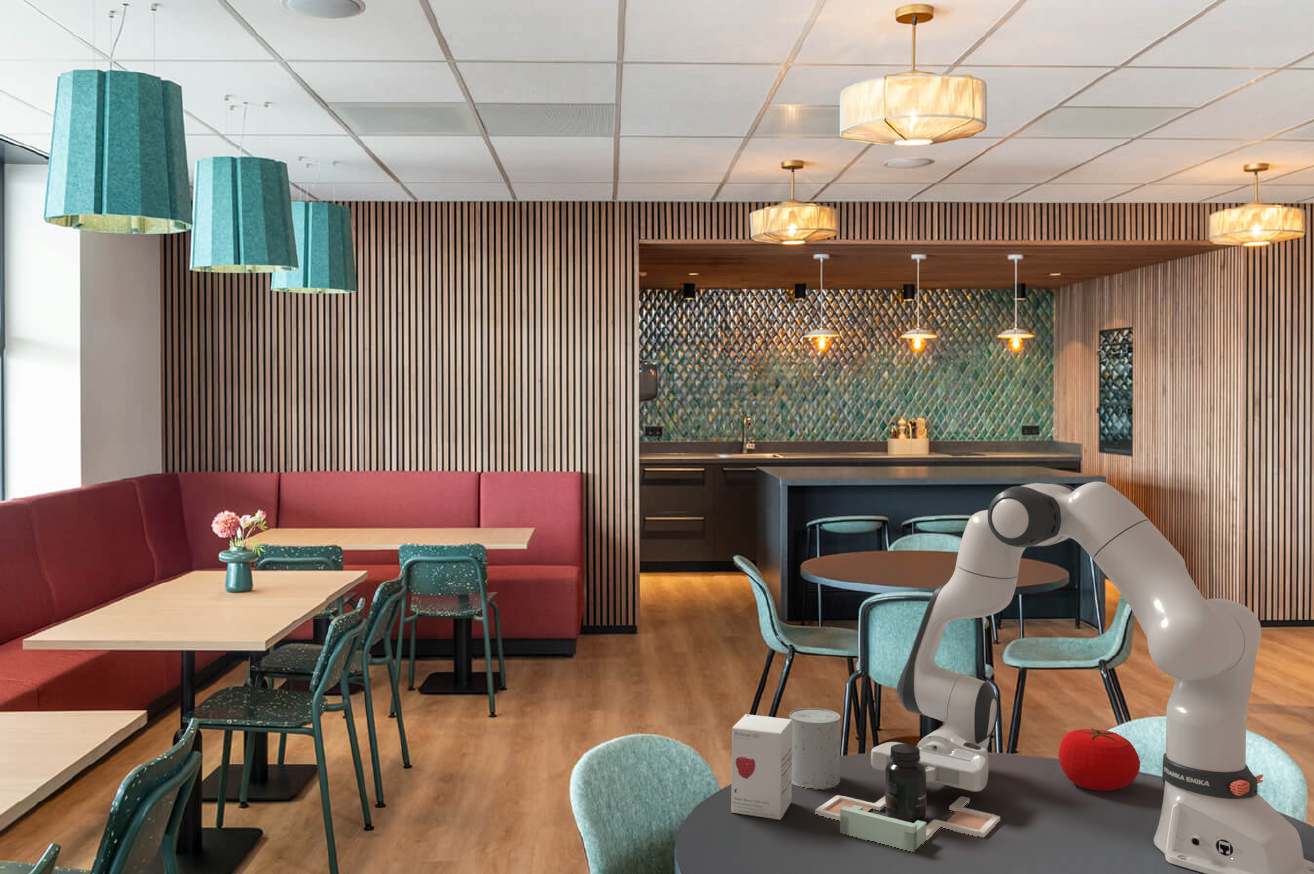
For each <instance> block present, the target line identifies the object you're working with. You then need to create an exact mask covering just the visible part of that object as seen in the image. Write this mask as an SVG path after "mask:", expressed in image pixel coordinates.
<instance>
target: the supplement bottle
mask: <svg viewBox="0 0 1314 874" xmlns="http://www.w3.org/2000/svg"><path fill="white" fill-rule="evenodd" d="M890 759H891V761H890V762H888V763H887V765H886V767H885V771H884V792H885V793H884V796H885V807H886V808H885V816H886V817H890V818H894V819H898V820H902V821H906V822H910V823H915V822H916V821H917V820H919V821H923V822H926V819H927V808H928V804H927V782H926V769H925V767H924V766H923V765H922V764H921V763H920V762H919V761H920V749H919V748H918V747H917V745H914V744H909V743H903V744H896V745H893V746H892V747H891V754H890Z"/></svg>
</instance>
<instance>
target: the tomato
mask: <svg viewBox="0 0 1314 874" xmlns="http://www.w3.org/2000/svg"><path fill="white" fill-rule="evenodd" d="M1058 760H1059V761H1058V762H1059V766H1060V768H1061V769H1062V771H1063V774H1064V775H1065V776H1066V778H1067V779H1068V780H1069V781H1071V783H1073V784H1075V785H1077V786H1078V787H1081V788H1083V789H1085V790H1092V791H1098V792H1100V791H1101V792H1105V791H1106V792H1108V791H1109V792H1110V791H1117V790H1118V789H1123V788H1125V787H1126V786H1128V785H1129V784H1131V783H1132V782H1133V781H1134V780H1135V779H1136V778H1137V777H1138V774H1139V772H1140V769H1141V768H1140V767H1141V760H1140V757H1139V754H1138V752H1137V750H1136V748H1135V746H1134V744H1132V743H1131V742H1130V740H1129V739H1127V738H1125V737H1124V736H1123V735H1121V734H1118V733H1117V732H1114V731H1111V730H1106V729H1095V728H1093V727H1090V728H1080V729H1073V730H1071V731H1069V732H1067V733H1066V734H1065V735H1064V736H1063V738H1062V740H1061V742H1060V745H1059V749H1058Z"/></svg>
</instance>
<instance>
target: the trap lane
mask: <svg viewBox="0 0 1314 874" xmlns="http://www.w3.org/2000/svg"><path fill="white" fill-rule="evenodd" d="M970 799H971V798H970V797H966V796H962V795H961V796H960V797H958V798H957V799H956V800H954V802H952V803H951V804H950V805H949V806H948V807H949V808H948V809H949V810H953V811H957V812H954V814H953V815H952V816H951V817H950V818H948V819H947V820H946V821H944V820H940V819H936V818H935V819H933V820H931V821H930V822H929V823H928V824H927V821H924V822H923V821H919V820H917V821H916V822H915V823H910V822H906V821H902V820H898V819H894V818H890V817H887V816H886V815H881V814H877V813H874V812H871V811H870V812H868V811H869V810H870V809H872V808H873V809H876V810H879V811H880V810H881V809H883V808H884V807H885V795H884V796H883V797H881V798H880V799H878V800H877V801H875V802H869V801H866V800H863V799H858V798H857V799H856V798H854V797H849V796H845V795H839V794H837V795H835V796H833V797H832V798H831V799H829V800H827V801H826V802H824V803H823V804H822V805H820V806H818V807H817V808H815V810H814V814H815V815H816V814H818V815H817V816H819V817H821V816H824V817H823V818H825V817H826V819H829V818H831V819H830V820H833V819H835V820H834V821H837V820H839V821H838V822H840V823H839V833H840V834H841V833H842V835H845V834H846V835H845V836H848V835H849V837H852V836H853V838H856V837H857V838H856V839H861V840H864V841H867V840H870V841H869V842H871V841H875V842H877V843H876V844H879V843H881V844H880V845H882V844H885V845H884V846H886V845H889V846H888V847H890V846H892V847H891V848H894V847H896V848H895V849H897V848H899V849H898V850H901V849H903V850H902V851H905V850H907V851H906V852H909V851H911V852H910V853H912V852H913V853H915V850H916V849H917V848H918V847H919V846H920V845H921V844H922V845H924V844H925V843H926V842H927V841H928V840H929V839H930V838H932V836H934V835H935V834H936V833H937V832H938V831H939V830H940V829H941V828H940V827H943V828H946V829H945V830H947V829H950V830H949V831H951V830H953V831H952V832H955V833H960V834H964V833H965V834H964V835H968V834H969V835H968V836H972V835H973V836H972V837H978V836H979V837H978V838H982V837H983V839H984V838H985V837H986V836H987V835H988V834H989V833H990V832H991V831H992V830H993V829H994V828H995V827H996V826H997V825H998V824H999V823H1000V822H1001V816H1000V815H997V814H994V813H989V812H985V811H980V810H976V809H973V808H967V807H966V806H967V805H968V804H970V803H969V802H970ZM967 803H968V804H967ZM966 804H967V805H966ZM965 805H966V806H965ZM964 806H965V807H964ZM884 809H885V808H884ZM884 809H883V810H884ZM949 810H948V811H949ZM879 811H878V812H879ZM880 812H881V811H880ZM999 821H1000V822H999ZM998 822H999V823H998ZM997 823H998V824H997ZM996 824H997V825H996ZM939 828H940V829H939ZM943 828H942V829H943ZM938 829H939V830H938ZM937 830H938V831H937ZM936 831H937V832H936ZM935 832H936V833H935ZM934 833H935V834H934ZM933 834H934V835H933ZM926 840H927V841H926ZM925 841H926V842H925ZM875 842H874V843H875ZM924 842H925V843H924ZM922 845H921V846H922ZM921 846H920V847H921ZM920 847H919V848H920ZM919 848H918V849H919ZM918 849H917V850H918ZM917 850H916V851H917Z"/></svg>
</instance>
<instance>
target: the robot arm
mask: <svg viewBox="0 0 1314 874" xmlns="http://www.w3.org/2000/svg"><path fill="white" fill-rule="evenodd" d="M1069 540H1074V541H1076V542H1077V543H1078V544H1079V545H1080V546H1081V547H1082V548H1083V549H1084V550H1085V552H1086V554H1088V555H1089V557H1090V558H1091V559H1092V561H1094V563H1095V564H1096V565H1097V566H1098V568H1099V569H1100V570H1101V571H1102V572H1103V574H1104V575H1105V576H1106V578H1107V579H1108V580H1109V581H1110V582H1111V584H1113V586H1114V587H1115V588H1116V590H1118V592H1119V593H1120V594H1121V596H1122V597H1123V599H1124V600H1125V601H1126V603H1127V605H1128V606H1129V608H1130V610H1131V611H1132V613H1133V615H1134V617H1135V619H1136V620H1137V622H1138V624H1139V626H1140V627H1141V631H1142V632H1143V633H1144V636H1145V637H1146V640H1147V648H1148V653H1149V655H1150V658H1151V660H1152V662H1153V663H1154V664H1155V665H1156V667H1157V668H1158V669H1159V670H1160V671H1161V672H1163V673H1165V674H1166V675H1167V676H1169V677H1172V678H1174V683H1173V687H1172V690H1171V694H1170V696H1169V699H1168V701H1167V704H1166V716H1165V717H1166V719H1165V720H1166V721H1165V722H1166V723H1165V725H1166V726H1165V753H1163V757H1162V784H1163V788H1164V790H1163V797H1162V806H1161V811H1160V817H1159V821H1158V825H1157V828H1156V831H1155V834H1154V836H1153V843H1154V845H1155V846H1156V847H1157V848H1158V849H1159V850H1160V851H1161V852H1162V853H1163V854H1164V858H1165V861H1166V862H1168V863H1169V864H1172V865H1175V866H1177V867H1178V866H1179V867H1182V868H1186V869H1188V870H1193V871H1197V872H1199V873H1201V874H1202V873H1203V874H1314V862H1312V861H1310V860H1308V859H1306V858H1305V857H1304V851H1303V844H1302V840H1301V838H1300V834H1299V831H1298V830H1297V828H1296V827H1295V826H1294V825H1293V824H1291V823H1290V822H1289V821H1288V820H1287V819H1286V818H1285V817H1284V816H1283V815H1281V813H1279V811H1277V810H1276V809H1275V808H1274V807H1273V806H1272V805H1271V804H1270V803H1269V802H1267V800H1266V799H1264V798H1263V797H1262V795H1260V793H1258V791H1259V790H1258V789H1259V787H1258V784H1261V783H1263V782H1264V780H1263V777H1264V775H1263V774H1261V773H1260V774H1258V775H1256V776H1255V774H1254V773H1252V771H1251V770H1250V767H1249V766H1248V764H1246V761H1247V759H1246V757H1247V753H1246V752H1247V748H1246V747H1247V718H1248V717H1247V715H1248V709H1249V702H1250V697H1251V693H1252V687H1253V682H1254V675H1255V668H1256V659H1257V654H1258V649H1259V647H1260V644H1261V641H1262V627H1261V622H1260V620H1259V619H1258V617H1257V616H1256V614H1255V613H1254V612H1253V611H1252V610H1251V609H1250V608H1249V607H1248V606H1247V605H1244V604H1242V603H1240V602H1237V601H1234V600H1231V599H1226V598H1217V597H1216V598H1208V599H1205V597H1204V596H1203V595H1202V594H1201V592H1200V591H1199V589H1198V588H1197V586H1196V584H1195V582H1194V581H1193V579H1192V577H1191V576H1190V573H1189V572H1188V569H1187V567H1186V561H1185V559H1184V558H1183V556H1182V555H1181V553H1179V551H1178V550H1177V549H1176V548H1175V546H1174V545H1173V544H1171V542H1170V541H1169V540H1168V539H1167V537H1165V536H1164V534H1163V533H1161V531H1160V530H1159V529H1158V528H1157V527H1156V526H1155V524H1154V523H1152V521H1150V519H1149V518H1148V517H1147V515H1145V513H1143V512H1142V511H1141V510H1140V509H1139V508H1138V507H1137V506H1136V505H1135V504H1134V503H1133V502H1132V501H1130V499H1128V498H1127V497H1126V496H1125V495H1123V494H1122V493H1121V492H1120V491H1119V490H1118V489H1116V488H1115V487H1113V486H1112V485H1110V484H1109V483H1107V482H1103V481H1091V482H1088V483H1085V484H1083V485H1080V486H1078V487H1077V488H1075V487H1072V486H1070V485H1067V484H1064V483H1058V482H1057V483H1056V482H1055V483H1042V482H1041V483H1040V482H1039V483H1038V482H1034V483H1027V484H1022V485H1016V486H1011V487H1009V488H1007V489H1004V490H1003V491H1001V492H999V493H998V494H996V496H995V497H994V498H993V499H992V500H991V502H990V503H989V505H988V509H985V510H984V509H983V510H980V511H977V512H975V513H974V514H972V515H971V516H970V517H969V519H968V521H967V523H966V525H965V529H964V531H963V534H962V538H961V541H960V544H959V549H958V552H957V558H956V562H955V568H954V571H953V574H952V576H951V578H950V579H949V580H948V582H947V583H946V584H945V583H944V584H940V585H939V586H938V587H937V588H936V589H935V590H934V591H933V593H932V595H931V597H930V599H929V601H928V604H927V605H926V608H925V610H924V614H923V616H922V618H921V619H922V620H921V622H920V625H919V628H918V630H917V633H916V637H915V639H914V642H913V645H912V648H911V650H910V654H909V655H908V659H907V661H906V663H905V666H904V667H903V669H902V672H901V674H900V676H899V678H898V682H897V686H896V694H897V698H898V699H899V702H900V703H901V705H902V706H903V707H904V708H905V710H906V711H907V712H908V713H914V714H916V715H921V716H924V717H925V716H927V717H930V718H933V719H935V720H938V721H941V722H944V724H943V725H941V726H940V727H939V728H938V729H936V730H933V731H932V732H931V733H929V734H927V735H926V736H923V738H921V740H919V742H918V743H917V745H916V746H917V747H918V748H919V749H920V761H919V762H920V763H921V764H922V765H923V766H924V767H925V769H926V783H935V784H938V785H943V786H948V787H953V788H957V789H961V790H965V791H969V792H981V791H982V790H984V789H985V788H986V786H987V784H988V780H989V779H988V778H989V769H990V768H989V766H990V765H989V752H988V746H989V743H990V737H991V736H992V735H993V733H994V731H995V728H996V725H997V721H998V718H999V706H1000V705H999V700H998V697H997V694H996V693H995V691H994V688H993V687H992V685H991V684H990V683H989V682H988V681H984V680H981V679H979V678H976V677H973V676H970V675H966V674H964V673H959V672H956V671H953V670H950V669H947V668H944V667H942V666H939V665H938V664H937V663H936V661H935V660H936V656H937V652H938V650H939V647H940V644H941V641H942V639H943V636H944V632H945V630H946V628H947V626H948V624H949V623H950V622H953V621H955V620H956V621H957V620H962V619H963V620H964V619H965V620H966V619H976V618H985V617H988V616H992V615H995V614H998V613H1000V612H1001V611H1003V610H1004V609H1006V608H1007V607H1008V606H1009V605H1010V604H1011V602H1012V600H1013V597H1014V595H1015V591H1016V587H1017V583H1018V579H1019V578H1018V577H1019V572H1020V571H1019V570H1020V564H1021V559H1022V555H1023V553H1024V552H1025V550H1026V549H1027V548H1030V547H1031V548H1032V547H1046V546H1047V547H1048V546H1051V545H1055V544H1058V543H1061V542H1066V541H1069ZM896 744H904V742H903V743H902V742H898V741H887V742H884V743H881V744H879V745H877V746H875V747H873V748H872V749H871V754H870V765H871V767H872V769H874V770H876V771H877V770H878V771H882V772H885V767H886V765H887V763H888V762H890V761H891V759H890V754H891V747H892V746H893V745H896Z"/></svg>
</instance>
